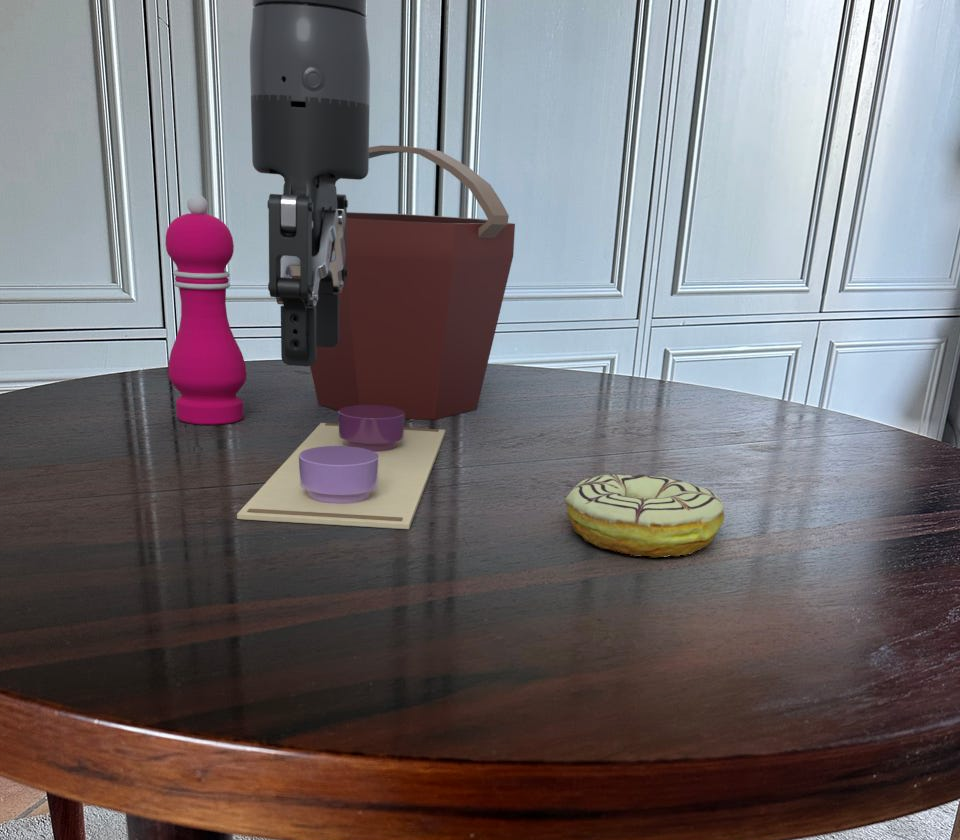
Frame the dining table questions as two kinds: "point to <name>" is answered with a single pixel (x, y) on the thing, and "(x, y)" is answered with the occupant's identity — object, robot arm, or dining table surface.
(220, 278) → the pepper mill
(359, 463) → the lilac dish
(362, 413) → the plum dish
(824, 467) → the dining table surface
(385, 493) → the placemat
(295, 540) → the dining table surface
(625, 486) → the decorated donut
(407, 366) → the bucket
